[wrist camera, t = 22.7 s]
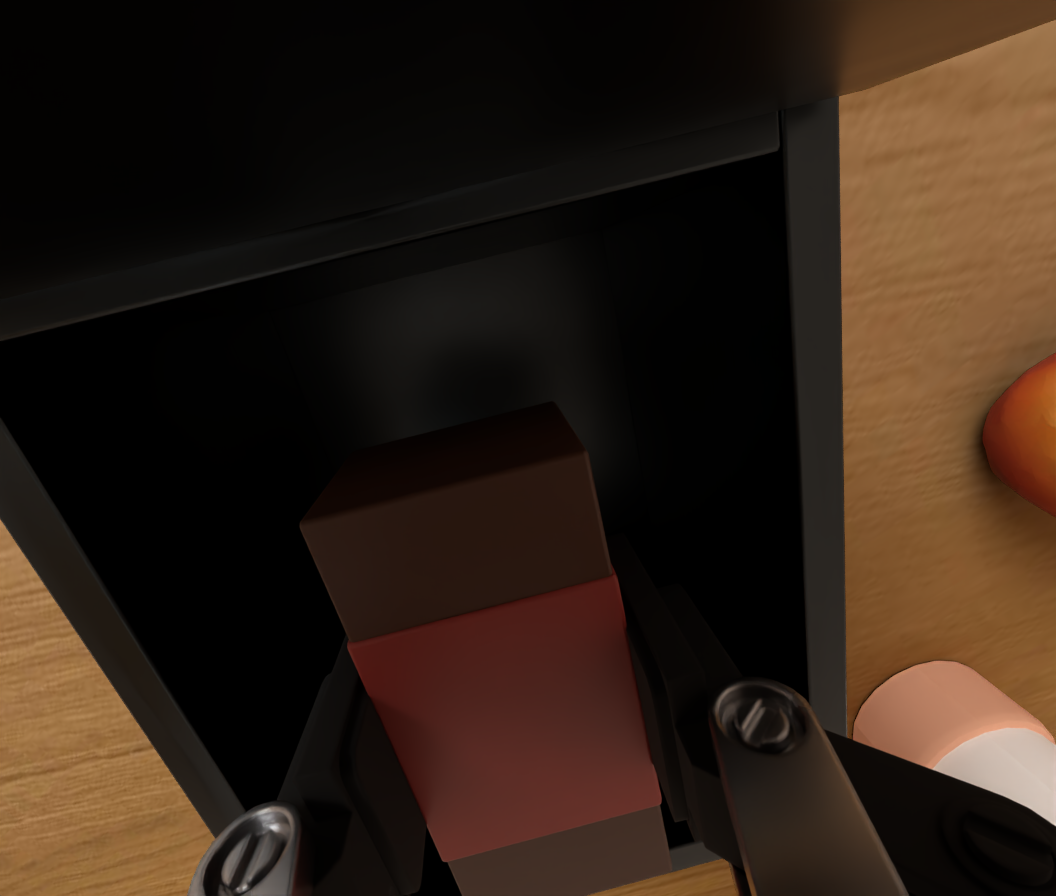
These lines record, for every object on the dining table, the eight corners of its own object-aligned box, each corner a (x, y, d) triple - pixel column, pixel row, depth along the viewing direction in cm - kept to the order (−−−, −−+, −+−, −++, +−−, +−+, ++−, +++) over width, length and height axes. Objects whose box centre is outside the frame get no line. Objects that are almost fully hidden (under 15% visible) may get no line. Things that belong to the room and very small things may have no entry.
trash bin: (670, 565, 21) (849, 825, 11) (387, 638, 21) (304, 974, 11) (614, 200, 16) (840, 66, 6) (245, 290, 16) (-148, 305, 6)
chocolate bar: (630, 736, 12) (678, 875, 9) (473, 777, 12) (471, 932, 9) (557, 397, 9) (593, 449, 6) (348, 450, 9) (289, 526, 6)
